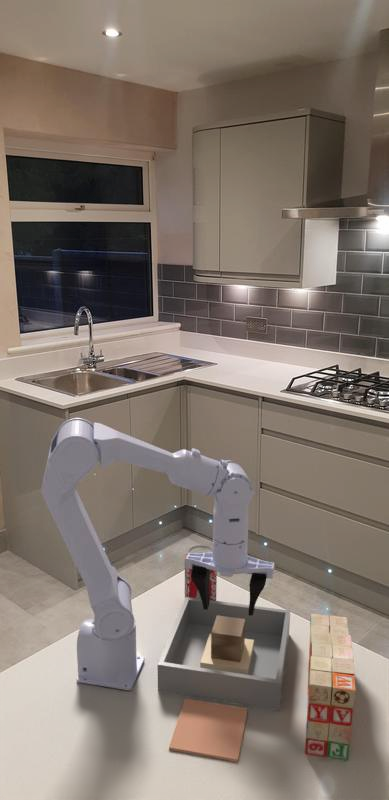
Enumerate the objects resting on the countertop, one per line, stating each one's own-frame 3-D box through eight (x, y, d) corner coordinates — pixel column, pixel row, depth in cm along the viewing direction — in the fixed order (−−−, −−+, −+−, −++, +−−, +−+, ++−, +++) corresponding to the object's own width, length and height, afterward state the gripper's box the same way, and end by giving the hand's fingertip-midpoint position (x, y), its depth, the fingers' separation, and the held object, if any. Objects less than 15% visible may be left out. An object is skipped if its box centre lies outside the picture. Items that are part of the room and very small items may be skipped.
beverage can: (205, 619, 123) (206, 562, 120) (178, 608, 126) (178, 554, 123) (222, 603, 128) (222, 549, 125) (195, 593, 131) (195, 540, 128)
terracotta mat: (169, 749, 93) (169, 747, 93) (184, 700, 102) (184, 698, 102) (237, 761, 91) (237, 759, 91) (247, 711, 100) (247, 708, 100)
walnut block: (211, 658, 109) (211, 632, 108) (216, 639, 114) (216, 615, 112) (240, 662, 108) (240, 636, 107) (244, 643, 113) (245, 619, 111)
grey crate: (157, 693, 104) (157, 664, 103) (185, 622, 123) (185, 596, 121) (279, 713, 100) (280, 683, 99) (288, 636, 119) (290, 610, 117)
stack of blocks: (308, 659, 112) (311, 597, 109) (344, 663, 111) (349, 601, 108) (304, 755, 92) (309, 683, 89) (349, 762, 91) (355, 689, 88)
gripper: (181, 543, 103) (181, 617, 107) (272, 553, 100) (269, 629, 104) (191, 523, 109) (191, 593, 113) (276, 532, 106) (273, 604, 110)
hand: (228, 609), depth 109 cm, fingers open, 7 cm apart
